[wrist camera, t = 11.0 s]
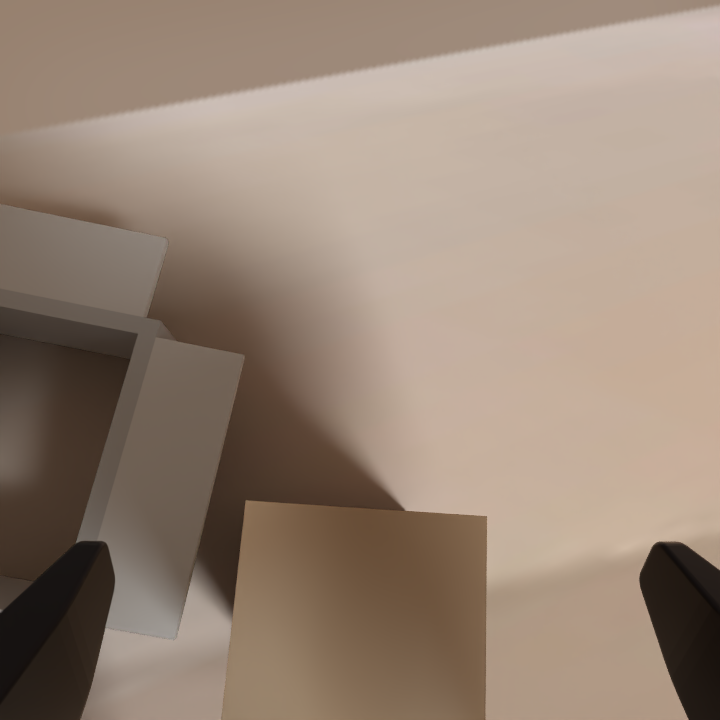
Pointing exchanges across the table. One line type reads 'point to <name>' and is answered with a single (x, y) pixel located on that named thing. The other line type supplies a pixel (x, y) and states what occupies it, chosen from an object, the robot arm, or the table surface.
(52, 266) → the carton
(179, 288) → the table surface
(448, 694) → the box
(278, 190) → the table surface
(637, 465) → the table surface
